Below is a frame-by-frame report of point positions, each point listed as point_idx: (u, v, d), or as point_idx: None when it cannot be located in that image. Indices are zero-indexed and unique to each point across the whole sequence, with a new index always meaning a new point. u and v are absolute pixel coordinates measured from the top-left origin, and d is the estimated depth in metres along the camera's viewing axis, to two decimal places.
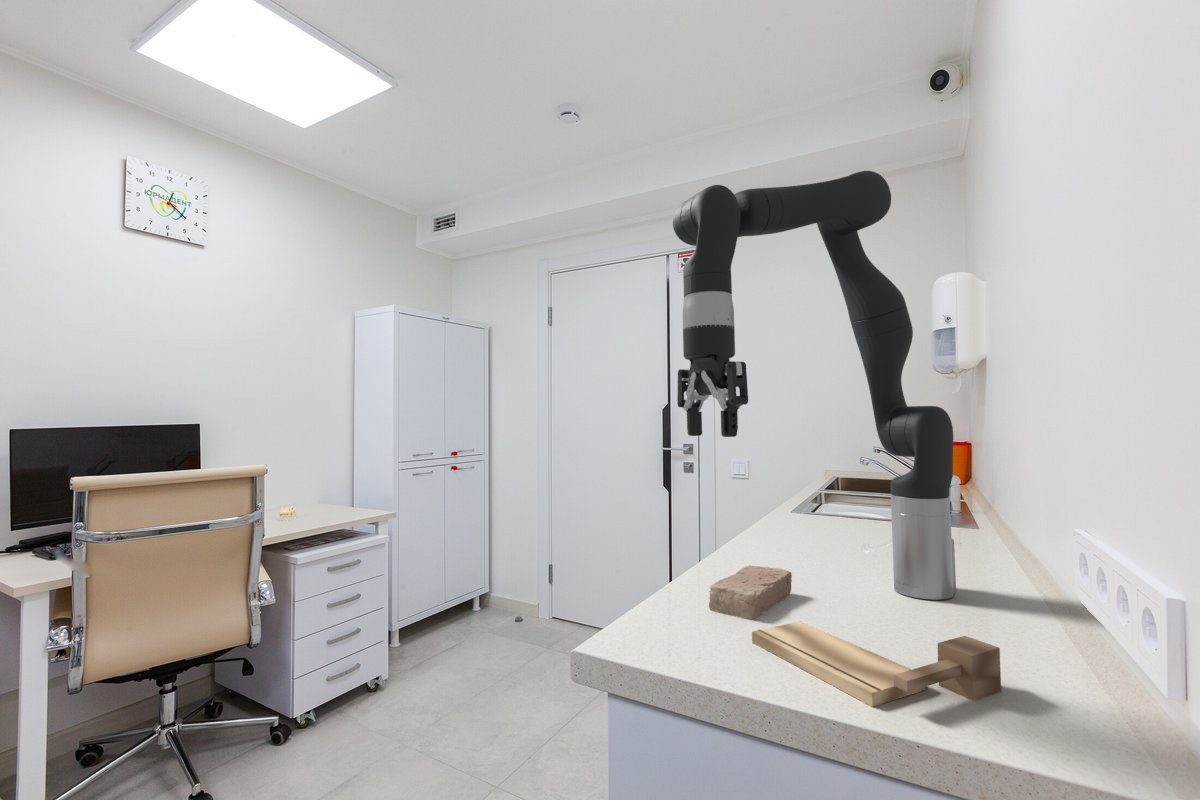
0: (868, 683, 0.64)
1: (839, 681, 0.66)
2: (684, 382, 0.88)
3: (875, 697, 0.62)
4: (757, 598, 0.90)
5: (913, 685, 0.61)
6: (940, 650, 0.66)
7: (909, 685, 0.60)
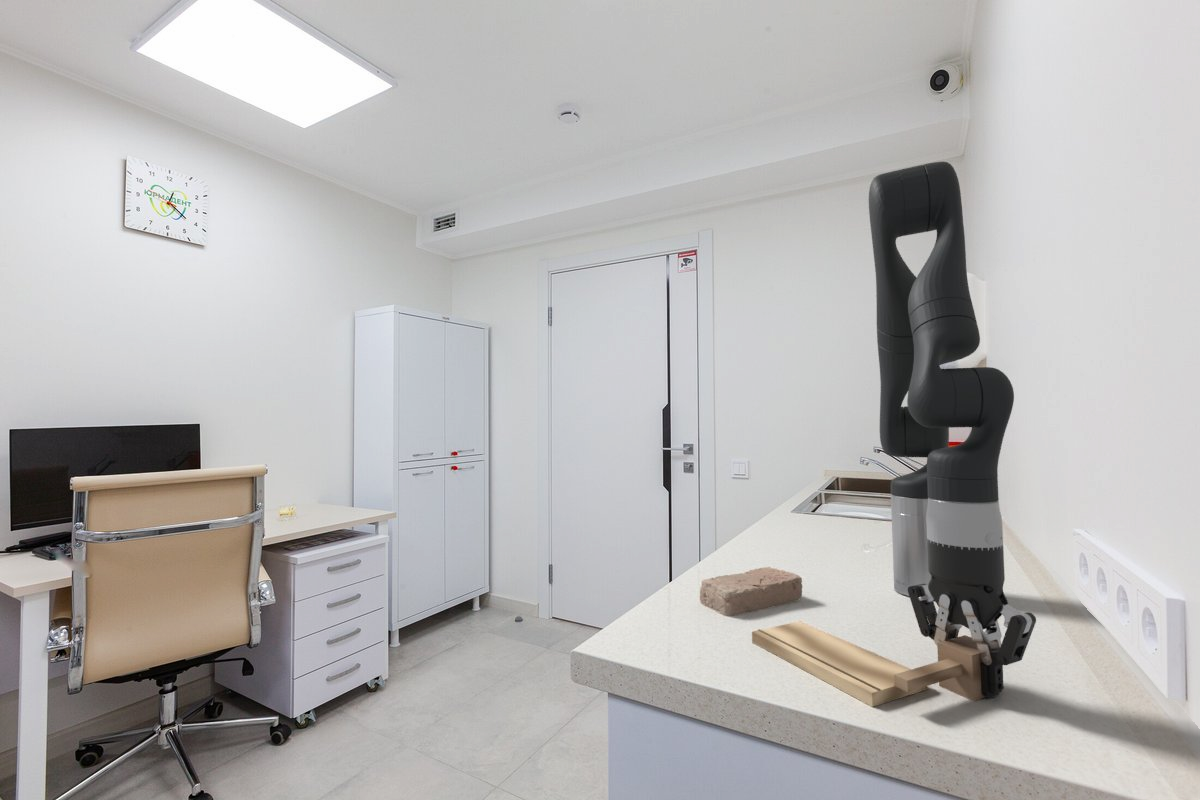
0: (868, 683, 0.64)
1: (839, 681, 0.66)
2: (922, 602, 0.70)
3: (875, 697, 0.62)
4: (735, 596, 0.91)
5: (913, 685, 0.61)
6: (940, 650, 0.66)
7: (909, 685, 0.60)
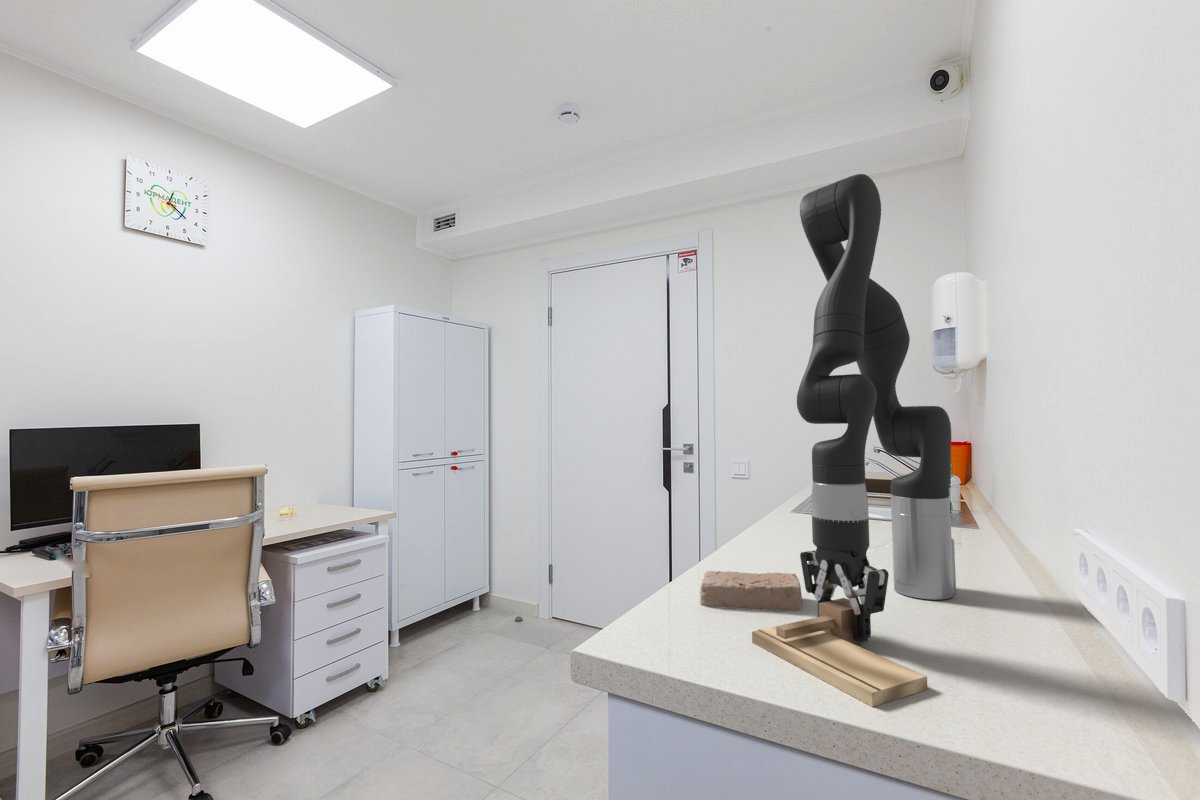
0: (868, 683, 0.64)
1: (839, 681, 0.66)
2: (810, 565, 0.85)
3: (875, 697, 0.62)
4: (709, 588, 0.96)
5: (790, 633, 0.76)
6: (820, 608, 0.81)
7: (786, 633, 0.75)
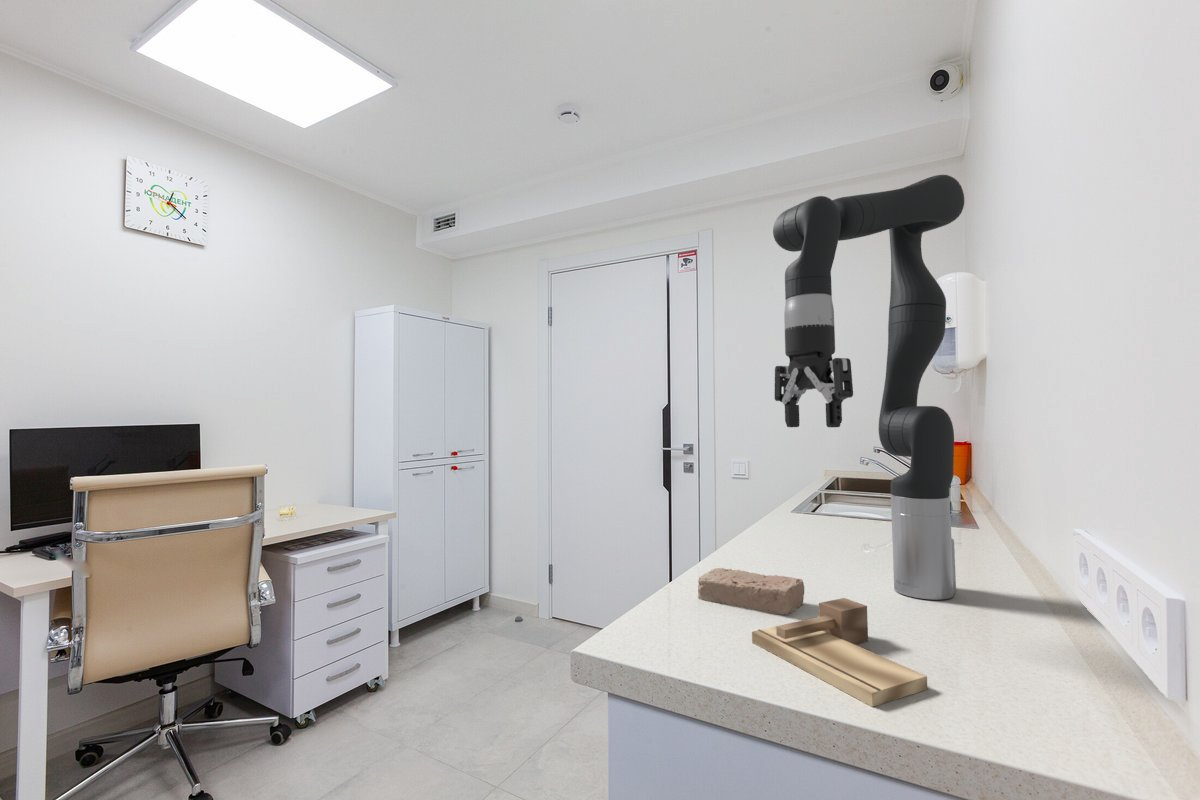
0: (868, 683, 0.64)
1: (839, 681, 0.66)
2: (782, 377, 0.95)
3: (875, 697, 0.62)
4: (704, 583, 0.99)
5: (790, 633, 0.76)
6: (820, 608, 0.81)
7: (786, 633, 0.75)
